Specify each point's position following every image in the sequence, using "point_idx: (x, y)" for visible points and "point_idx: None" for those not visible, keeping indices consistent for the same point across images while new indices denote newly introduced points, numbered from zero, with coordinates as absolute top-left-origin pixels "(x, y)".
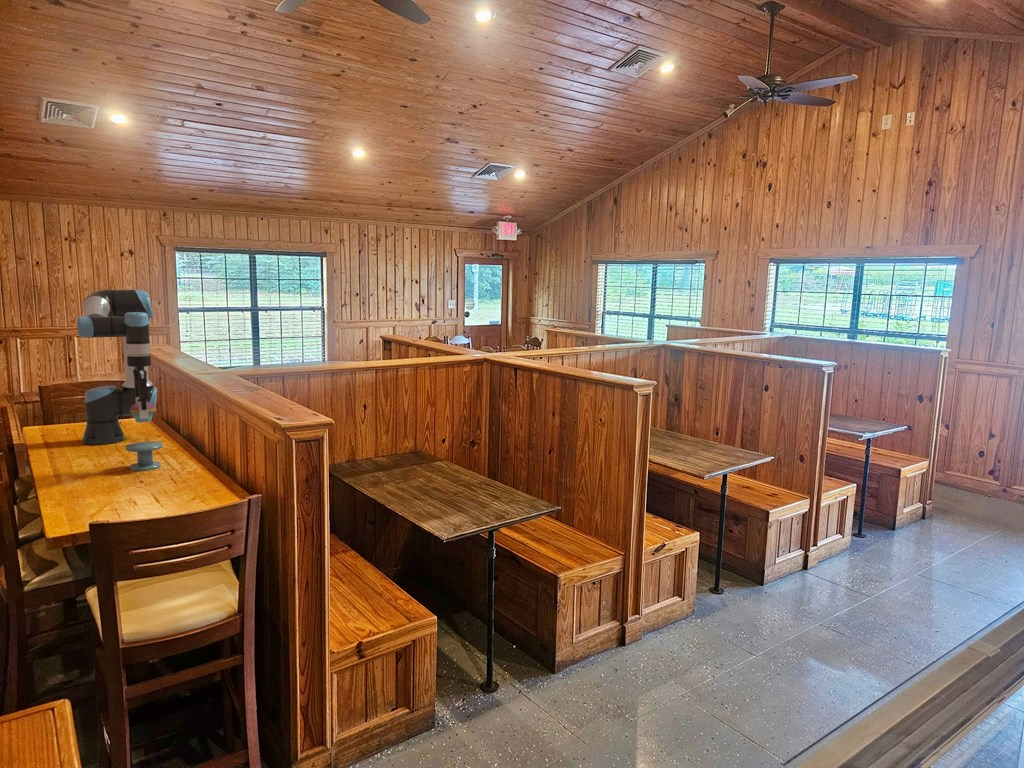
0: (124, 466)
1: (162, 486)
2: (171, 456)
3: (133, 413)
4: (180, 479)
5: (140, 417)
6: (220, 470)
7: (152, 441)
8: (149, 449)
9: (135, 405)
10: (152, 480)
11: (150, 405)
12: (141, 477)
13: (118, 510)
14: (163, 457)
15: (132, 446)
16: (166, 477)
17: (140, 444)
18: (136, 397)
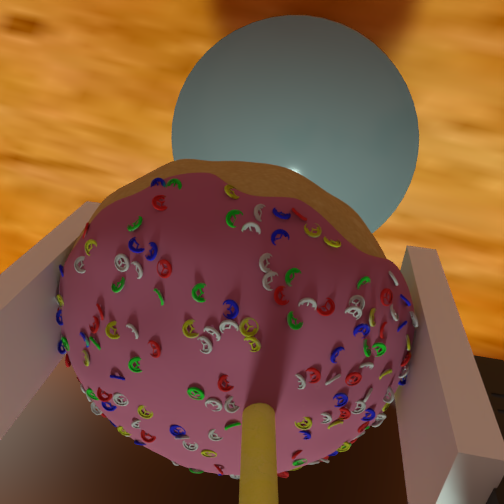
0: (410, 11)
1: None
2: (448, 277)
3: (143, 176)
4: (2, 183)
5: (76, 213)
6: None
7: (373, 226)
8: (175, 153)
9: (161, 279)
10: (29, 77)
11: (116, 425)
12: (106, 43)
13: None
14: (459, 243)
15: (297, 70)
16: (57, 145)
17: (331, 136)
18: (455, 462)
